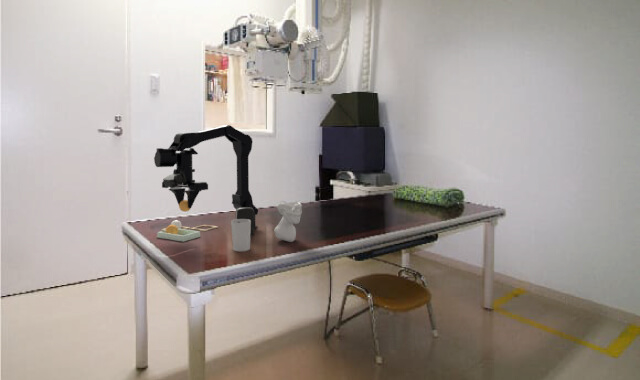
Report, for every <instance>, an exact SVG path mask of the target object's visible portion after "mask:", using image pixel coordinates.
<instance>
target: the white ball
mask: <svg viewBox="0 0 640 380" xmlns="http://www.w3.org/2000/svg"><path fill="white" fill-rule="evenodd" d="M170 225H175V226H177V228H179V229H182V228H181V226H183V225H182V222H181V221H180V220H177V219H176V220H173V221H171V223H170Z"/></svg>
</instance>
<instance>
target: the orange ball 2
mask: <svg viewBox="0 0 640 380" xmlns="http://www.w3.org/2000/svg"><path fill="white" fill-rule="evenodd" d="M178 208H179V209H180V211H182V212H188V211H190V210H191V208H192V207H191V208H188V200H187V199H184V200H183V201H181V202H180V204H179V205H178Z"/></svg>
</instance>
